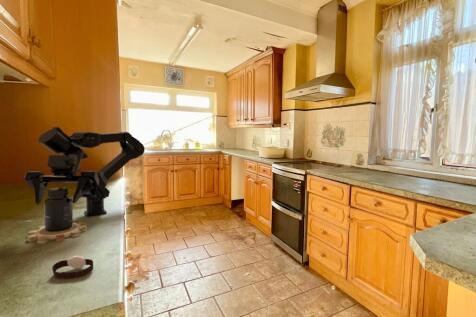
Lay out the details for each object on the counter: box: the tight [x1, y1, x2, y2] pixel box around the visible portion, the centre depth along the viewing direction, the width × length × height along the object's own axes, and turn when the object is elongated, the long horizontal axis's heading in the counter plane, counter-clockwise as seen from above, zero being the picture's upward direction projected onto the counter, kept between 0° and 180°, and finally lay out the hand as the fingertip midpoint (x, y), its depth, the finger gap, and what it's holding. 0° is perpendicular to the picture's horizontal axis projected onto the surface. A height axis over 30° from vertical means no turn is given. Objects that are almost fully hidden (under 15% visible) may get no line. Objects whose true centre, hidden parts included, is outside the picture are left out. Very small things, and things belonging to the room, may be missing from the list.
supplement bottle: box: [43, 186, 74, 232], centre depth 72 cm, size 7×7×12 cm
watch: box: [51, 254, 94, 280], centre depth 52 cm, size 8×5×4 cm, turn 100°
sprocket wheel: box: [26, 220, 88, 244], centre depth 73 cm, size 14×14×1 cm
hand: (55, 203), depth 70 cm, fingers open, 9 cm apart
